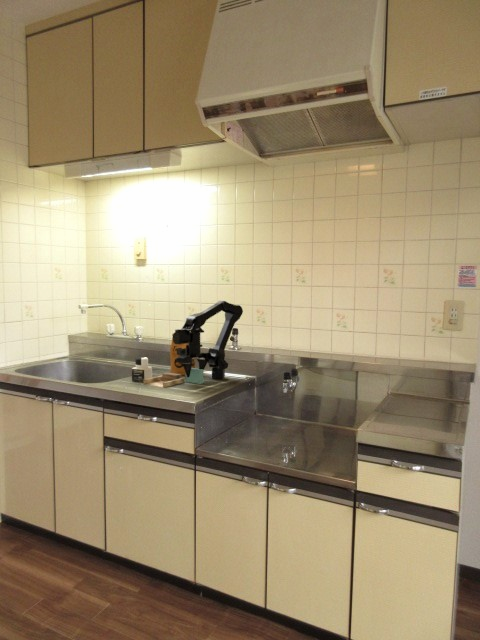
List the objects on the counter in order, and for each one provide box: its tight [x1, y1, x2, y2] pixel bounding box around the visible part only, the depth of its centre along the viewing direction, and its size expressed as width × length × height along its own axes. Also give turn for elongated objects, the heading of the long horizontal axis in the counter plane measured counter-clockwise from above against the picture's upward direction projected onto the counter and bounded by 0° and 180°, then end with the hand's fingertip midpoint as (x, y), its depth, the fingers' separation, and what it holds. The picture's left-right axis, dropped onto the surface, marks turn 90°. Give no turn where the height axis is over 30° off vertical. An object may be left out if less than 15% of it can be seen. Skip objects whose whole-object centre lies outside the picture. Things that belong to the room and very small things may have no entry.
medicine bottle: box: [131, 356, 153, 383], centre depth 223 cm, size 7×7×12 cm
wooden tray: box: [143, 375, 186, 388], centre depth 217 cm, size 14×13×3 cm
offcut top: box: [161, 372, 182, 379], centre depth 220 cm, size 4×8×2 cm, turn 60°
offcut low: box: [161, 377, 180, 382], centre depth 220 cm, size 4×9×2 cm, turn 56°
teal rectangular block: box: [185, 367, 205, 385], centre depth 218 cm, size 2×9×7 cm, turn 56°
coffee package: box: [169, 332, 196, 377], centre depth 239 cm, size 10×12×22 cm
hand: (194, 375), depth 218 cm, fingers open, 9 cm apart
